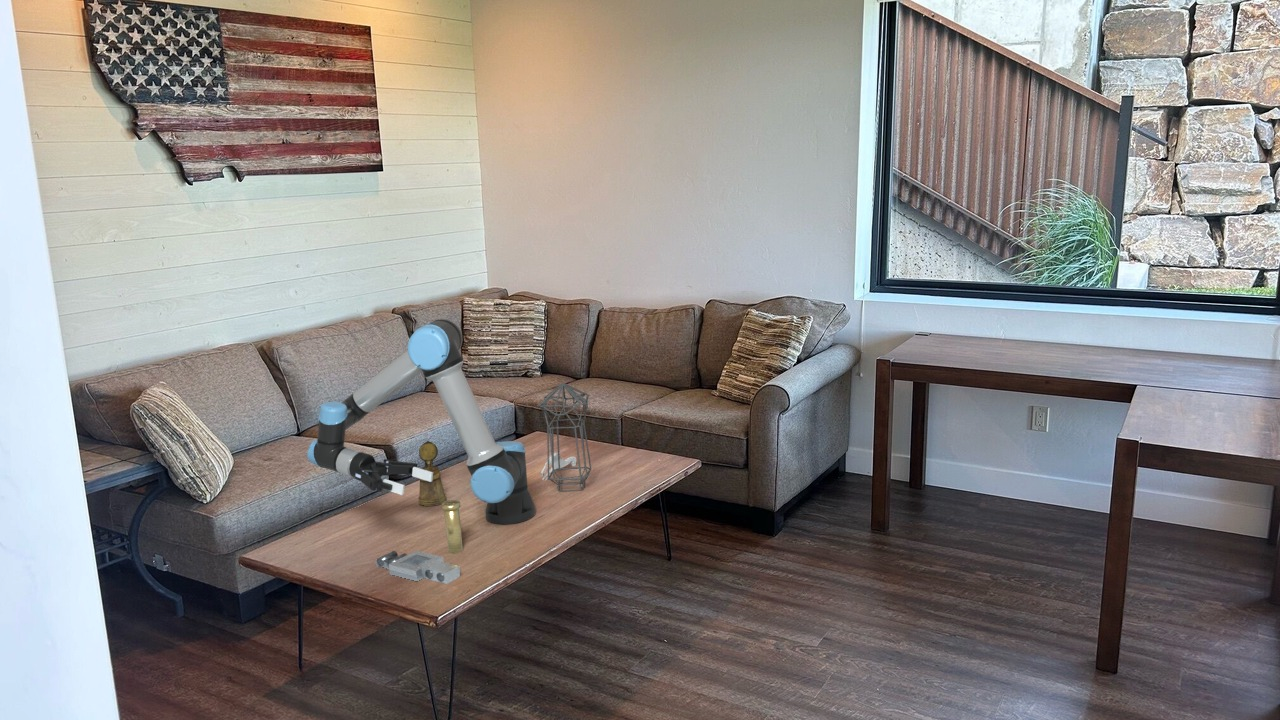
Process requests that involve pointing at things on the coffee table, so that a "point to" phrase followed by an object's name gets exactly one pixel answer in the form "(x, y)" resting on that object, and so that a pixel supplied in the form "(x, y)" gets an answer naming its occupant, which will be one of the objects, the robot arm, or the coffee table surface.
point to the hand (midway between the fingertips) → (418, 483)
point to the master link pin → (453, 525)
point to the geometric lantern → (585, 403)
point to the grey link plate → (427, 568)
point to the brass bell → (433, 490)
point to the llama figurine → (562, 463)
